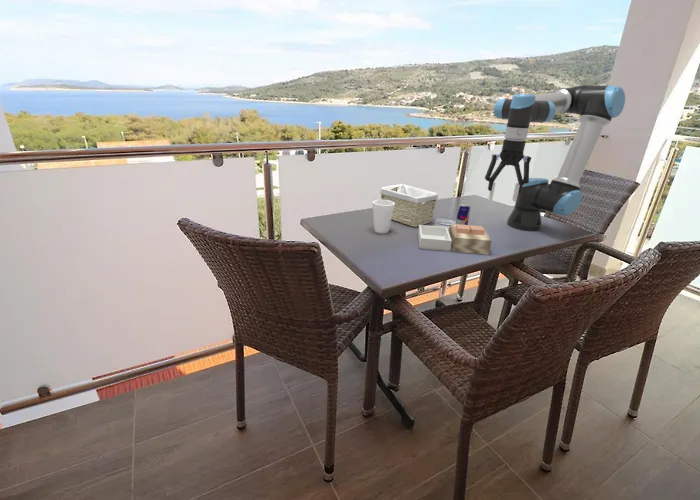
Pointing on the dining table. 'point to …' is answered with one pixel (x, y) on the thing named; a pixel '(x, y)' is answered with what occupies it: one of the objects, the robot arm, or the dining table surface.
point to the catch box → (434, 238)
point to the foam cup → (382, 215)
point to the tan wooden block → (469, 242)
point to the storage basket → (410, 204)
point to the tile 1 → (462, 229)
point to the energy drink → (463, 214)
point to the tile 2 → (476, 230)
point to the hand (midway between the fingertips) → (502, 199)
